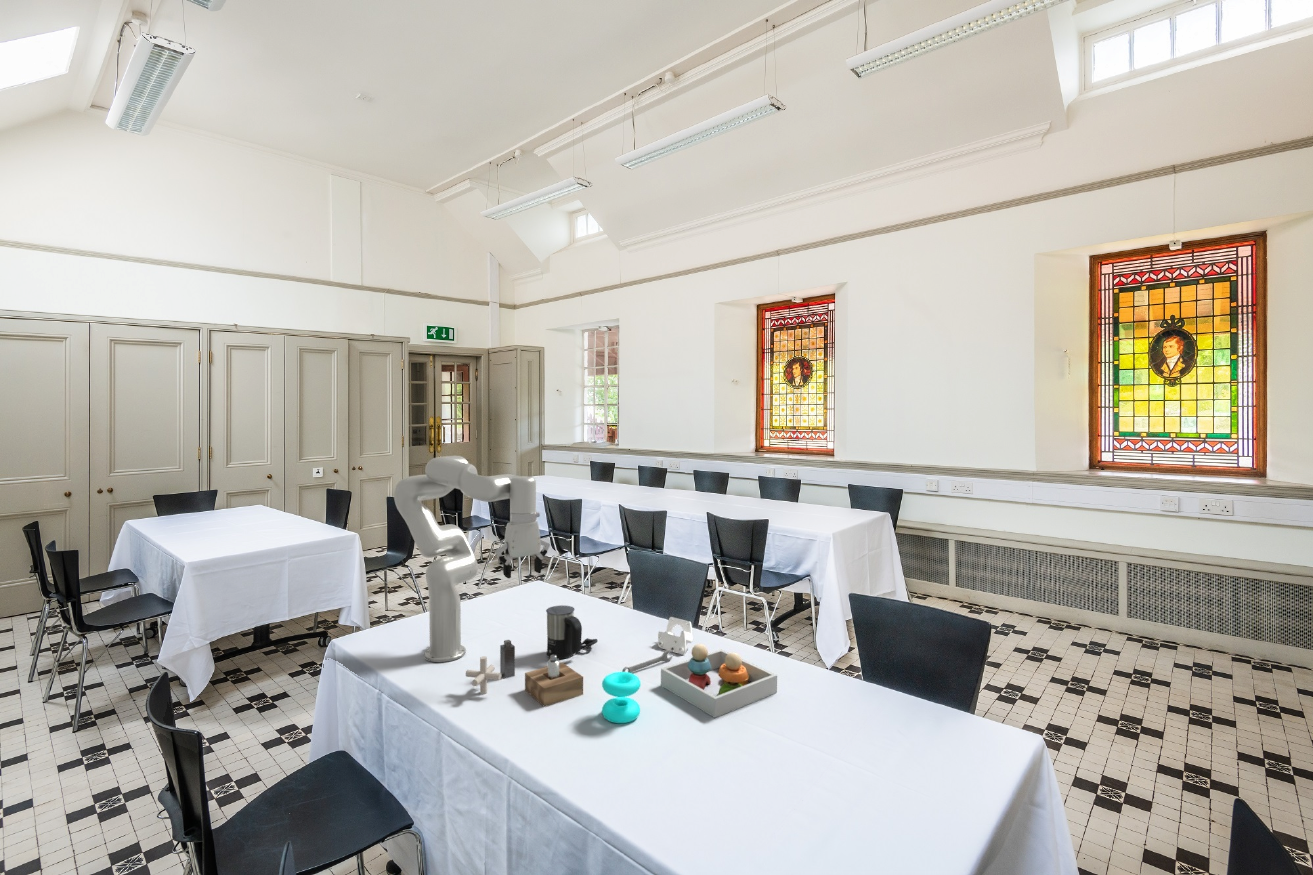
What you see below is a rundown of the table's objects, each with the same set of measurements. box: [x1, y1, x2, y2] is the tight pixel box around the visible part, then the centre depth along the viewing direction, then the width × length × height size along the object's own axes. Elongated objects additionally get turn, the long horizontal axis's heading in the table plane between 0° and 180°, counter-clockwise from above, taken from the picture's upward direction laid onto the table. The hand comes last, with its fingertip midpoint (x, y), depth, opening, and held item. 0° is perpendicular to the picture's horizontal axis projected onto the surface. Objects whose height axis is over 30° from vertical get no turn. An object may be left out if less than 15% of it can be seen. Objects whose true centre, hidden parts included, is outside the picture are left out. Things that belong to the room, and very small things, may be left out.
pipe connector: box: [465, 656, 502, 695], centre depth 170 cm, size 10×10×10 cm
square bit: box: [499, 639, 516, 679], centre depth 181 cm, size 3×3×10 cm
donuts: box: [601, 671, 641, 724], centre depth 158 cm, size 10×10×10 cm
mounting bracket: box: [657, 616, 694, 656], centre depth 204 cm, size 12×6×11 cm, turn 53°
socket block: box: [524, 662, 584, 707], centre depth 170 cm, size 12×12×5 cm
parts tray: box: [660, 649, 778, 719], centre depth 174 cm, size 23×24×5 cm
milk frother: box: [545, 604, 598, 660], centre depth 199 cm, size 14×16×15 cm
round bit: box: [547, 655, 560, 680], centre depth 170 cm, size 3×3×10 cm
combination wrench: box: [621, 650, 673, 674], centre depth 187 cm, size 4×1×20 cm
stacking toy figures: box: [687, 643, 749, 696], centre depth 175 cm, size 18×17×12 cm
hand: (522, 574), depth 181 cm, fingers open, 9 cm apart
